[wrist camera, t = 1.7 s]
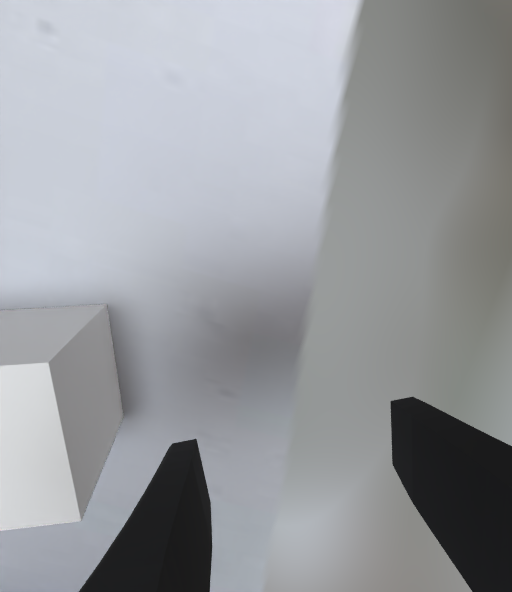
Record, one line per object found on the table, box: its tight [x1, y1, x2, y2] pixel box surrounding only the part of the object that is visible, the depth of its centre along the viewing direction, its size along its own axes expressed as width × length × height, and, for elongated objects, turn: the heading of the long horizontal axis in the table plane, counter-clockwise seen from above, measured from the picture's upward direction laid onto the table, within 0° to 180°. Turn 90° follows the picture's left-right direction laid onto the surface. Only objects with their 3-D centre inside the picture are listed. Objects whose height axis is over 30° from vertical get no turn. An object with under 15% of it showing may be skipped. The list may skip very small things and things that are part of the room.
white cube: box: [0, 304, 124, 531], centre depth 14 cm, size 6×6×6 cm
